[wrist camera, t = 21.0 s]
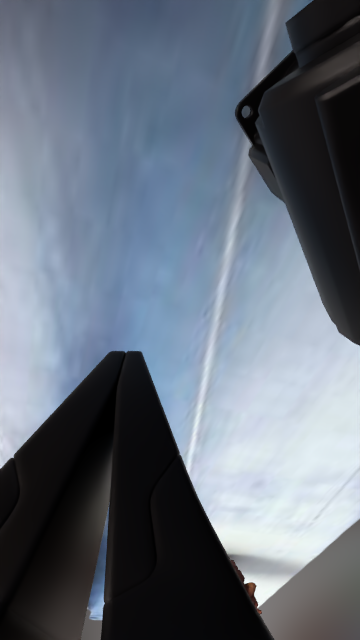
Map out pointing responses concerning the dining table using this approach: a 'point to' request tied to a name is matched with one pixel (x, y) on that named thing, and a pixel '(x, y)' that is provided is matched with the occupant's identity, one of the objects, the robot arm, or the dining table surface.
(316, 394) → the dining table surface
